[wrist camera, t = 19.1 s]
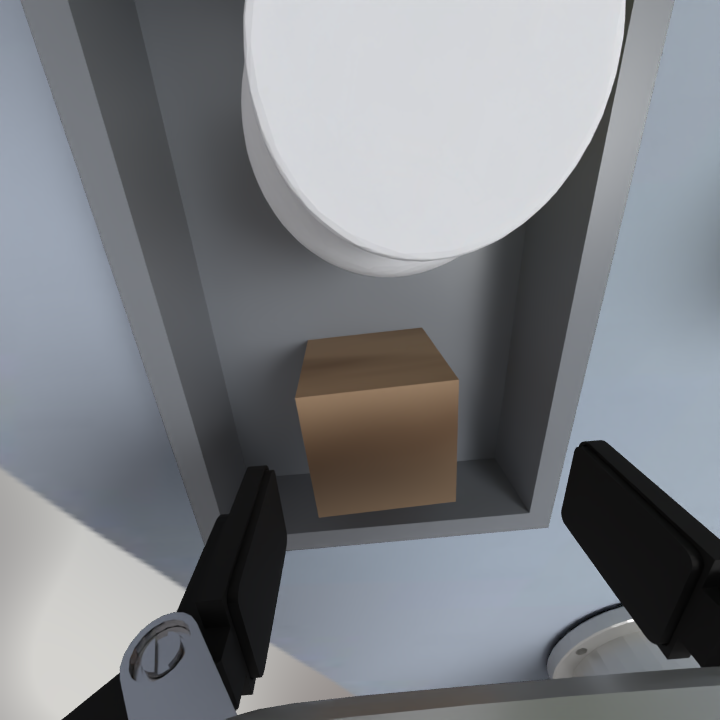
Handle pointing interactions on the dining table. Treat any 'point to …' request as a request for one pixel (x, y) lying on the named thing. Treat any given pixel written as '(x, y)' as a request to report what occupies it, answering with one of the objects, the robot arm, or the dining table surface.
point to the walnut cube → (378, 422)
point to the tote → (323, 272)
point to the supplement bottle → (420, 118)
